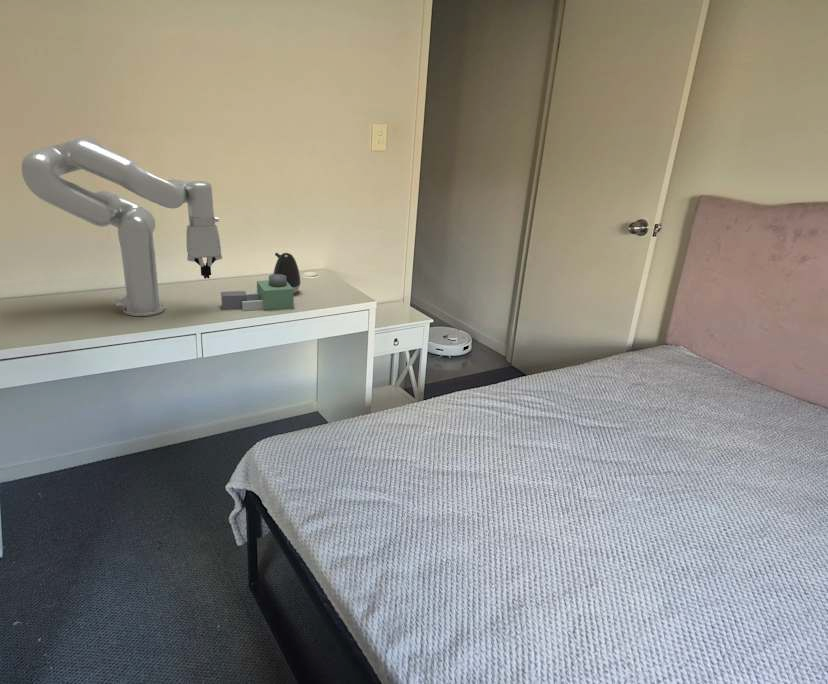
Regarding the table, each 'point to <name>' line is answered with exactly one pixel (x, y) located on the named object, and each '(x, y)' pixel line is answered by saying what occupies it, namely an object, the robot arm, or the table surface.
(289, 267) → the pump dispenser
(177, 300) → the table surface
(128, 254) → the robot arm
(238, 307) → the dark gray block
